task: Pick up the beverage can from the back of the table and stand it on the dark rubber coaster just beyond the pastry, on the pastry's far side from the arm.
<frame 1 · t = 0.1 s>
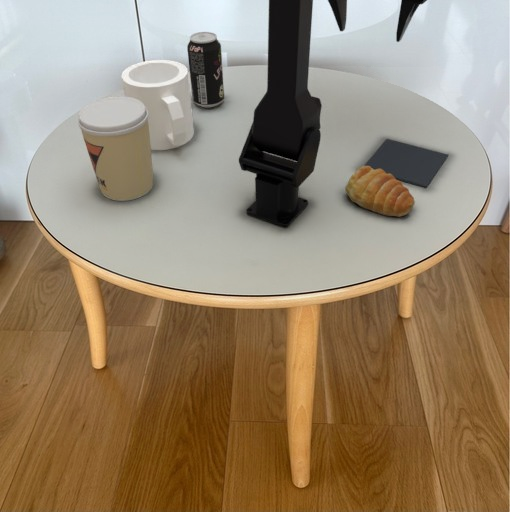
hand: (369, 35, 87), 15 cm above the table, tool pointing down, fingers open, 9 cm apart
pastry: (377, 200, 80), on the table
coaster: (405, 162, 87), on the table
coffee cup: (127, 187, 84), on the table
mug: (165, 138, 95), on the table
beverage can: (208, 103, 104), on the table
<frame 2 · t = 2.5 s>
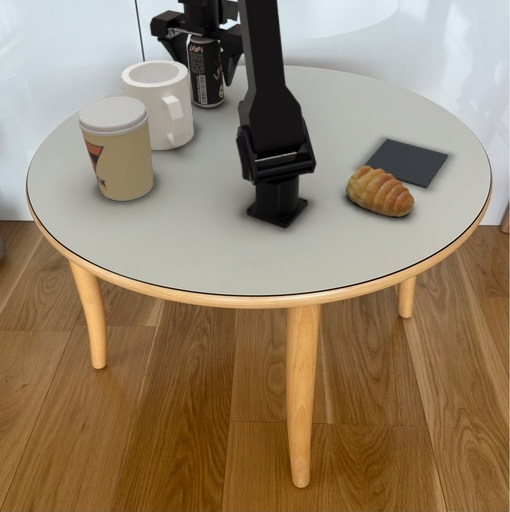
hand: (206, 80, 101), 4 cm above the table, tool pointing down
beverage can: (208, 103, 104), on the table, touching gripper
everything else where it was.
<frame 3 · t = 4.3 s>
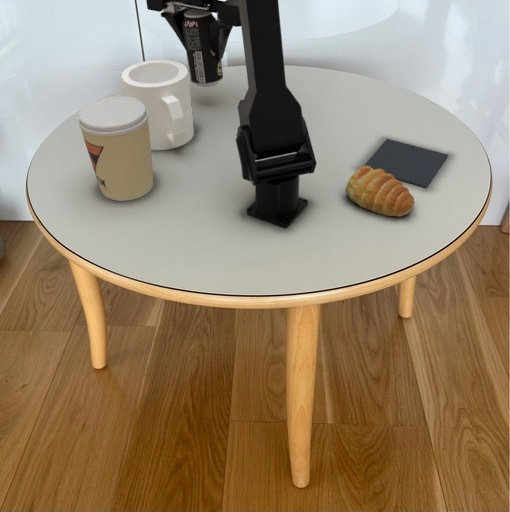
hand: (205, 56, 98), 9 cm above the table, tool pointing down, fingers closed on beverage can, 6 cm apart
beverage can: (207, 83, 101), point 4 cm above the table, touching gripper
everything else where it was.
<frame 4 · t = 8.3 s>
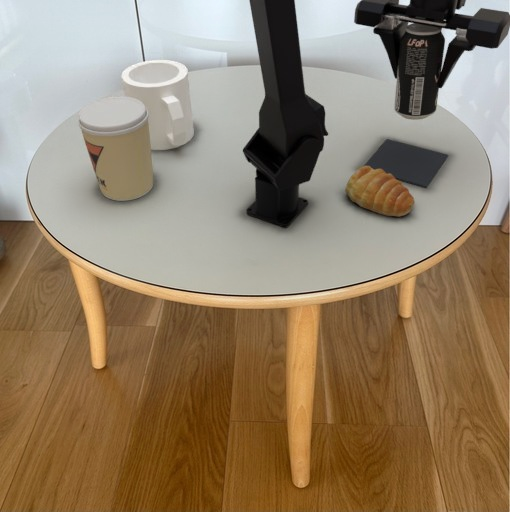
hand: (419, 82, 79), 13 cm above the table, tool pointing down, fingers closed on beverage can, 6 cm apart
beverage can: (414, 115, 82), point 8 cm above the table, touching gripper
everything else where it was.
when the fingers open (5 cm above the table, at t = 11.2 s): beverage can stays where it is, resting on coaster.
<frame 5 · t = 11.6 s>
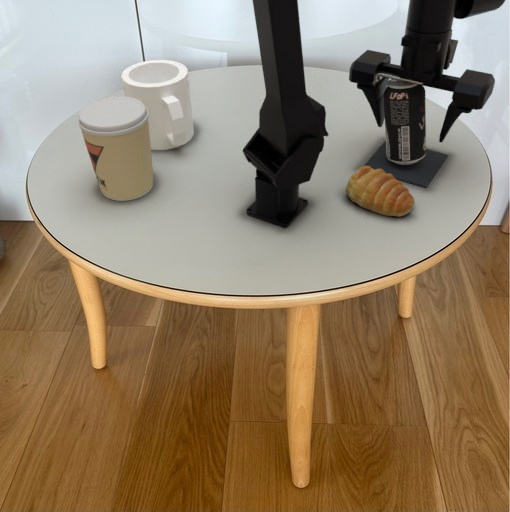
hand: (410, 133, 84), 5 cm above the table, tool pointing down, fingers open, 9 cm apart
beverage can: (406, 160, 87), point 1 cm above the table, touching coaster, gripper
everything else where it was.
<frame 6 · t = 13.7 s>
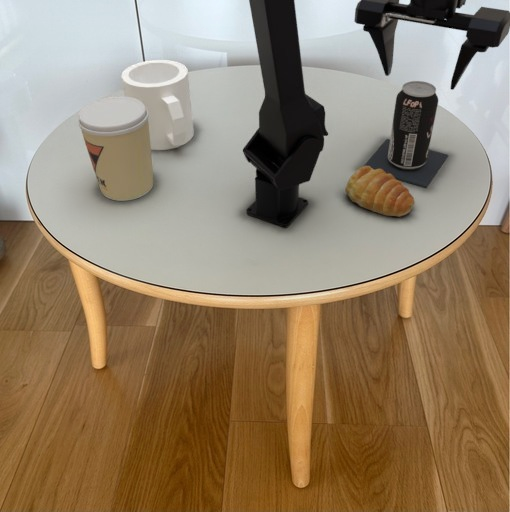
hand: (419, 81, 79), 13 cm above the table, tool pointing down, fingers open, 9 cm apart
beverage can: (406, 163, 87), resting on coaster
everything else where it was.
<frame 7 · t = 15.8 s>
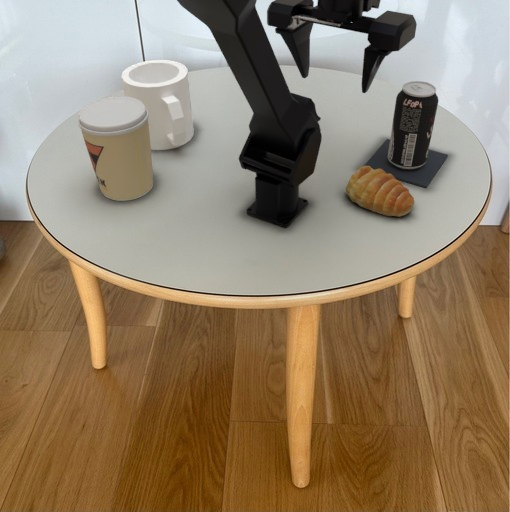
hand: (334, 84, 79), 13 cm above the table, tool pointing down, fingers open, 9 cm apart
nothing on the table moved.
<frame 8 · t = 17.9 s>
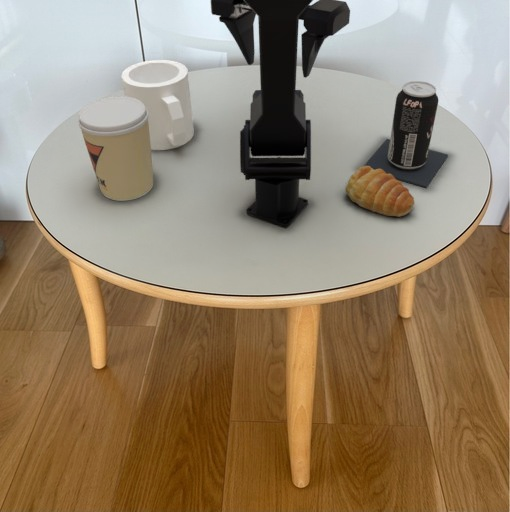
hand: (278, 70, 83), 13 cm above the table, tool pointing down, fingers open, 9 cm apart
nothing on the table moved.
at the end: beverage can inside the target area on the table beside the pastry (0.4 cm from its centre), resting on coaster; beverage can tilted 0°; the gripper is holding nothing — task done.
